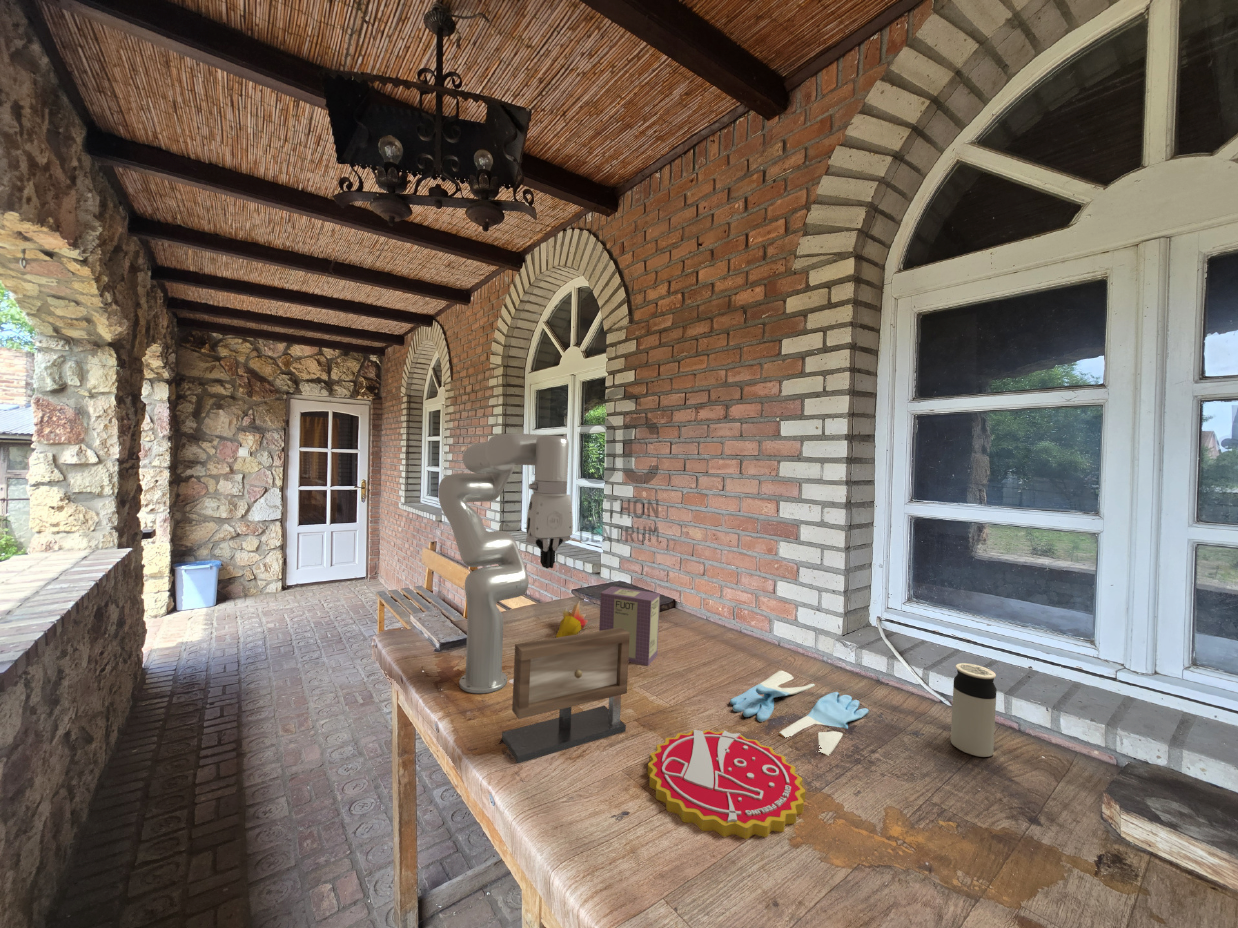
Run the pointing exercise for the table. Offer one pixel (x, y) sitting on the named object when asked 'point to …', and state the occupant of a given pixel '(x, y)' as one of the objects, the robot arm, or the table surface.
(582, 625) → the torch
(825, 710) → the rubber gloves
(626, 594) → the box
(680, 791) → the decorative sign
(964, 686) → the travel mug
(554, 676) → the wooden drawer
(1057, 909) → the table surface
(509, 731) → the pivot stand
